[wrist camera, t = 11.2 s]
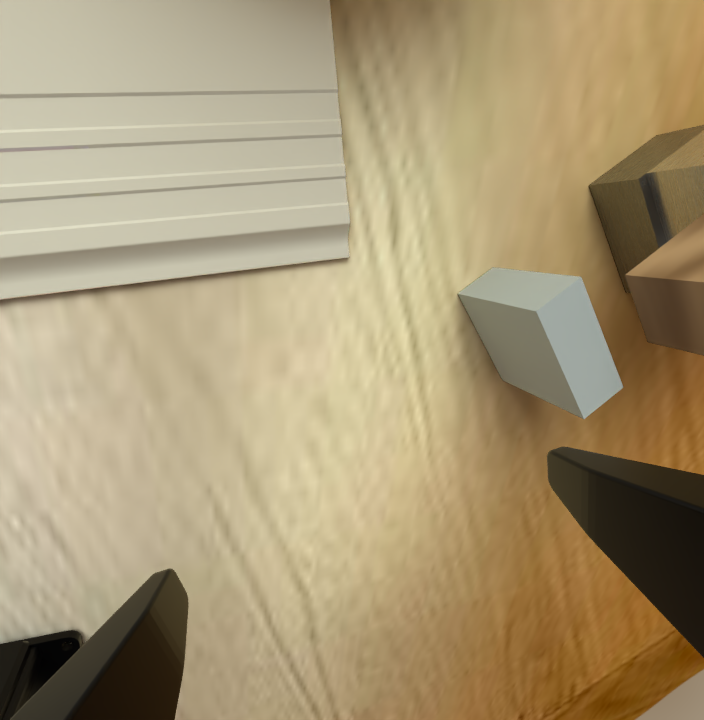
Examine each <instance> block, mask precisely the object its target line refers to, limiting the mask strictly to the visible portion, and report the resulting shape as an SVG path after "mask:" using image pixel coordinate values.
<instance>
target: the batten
mask: <svg viewBox="0 0 704 720" xmlns="http://www.w3.org/2000/svg"><path fill="white" fill-rule="evenodd" d="M625 277H626V280H627V283H628V285H629V288H630V291H631V294H632V297H633V300H634V303H635V306H636V309H637V312H638V315H639V318H640V321H641V324H642V327H643V330H644V332H645V335H646V338H647V341H648V342H650V343H654V344H658V345H662V346H666V347H671V348H675V349H679V350H683V351H687V352H692V353H696V354H700V355H704V214H703V215H701V216H700V217H699V218H698V219H696V220H695V221H694V222H692V223H691V224H690V225H689V226H687V227H686V228H685V229H683V230H682V231H681V232H680V233H678V234H677V235H676V236H674V237H673V238H672V239H671V240H669V241H668V242H667V243H665V244H664V245H663V246H662V247H660V248H659V249H658V250H656V251H655V252H654V253H653V254H651V255H650V256H649V257H647V258H646V259H645V260H644V261H642V262H641V263H640V264H638V265H637V266H636V267H635V268H633V269H632V270H631V271H629V272H628V273H627V274H626V275H625Z"/></svg>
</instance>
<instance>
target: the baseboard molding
mask: <svg viewBox="0 0 704 720" xmlns="http://www.w3.org/2000/svg"><path fill="white" fill-rule="evenodd" d="M349 226H350V214H349V204H348V199H347V189H346V171H345V164H344V156H343V145H342V127H341V120H340V113H339V102H338V84H337V73H336V62H335V51H334V40H333V29H332V18H331V8H330V0H0V300H2V299H10V298H19V297H27V296H35V295H43V294H52V293H60V292H68V291H76V290H85V289H93V288H101V287H110V286H118V285H126V284H134V283H143V282H151V281H159V280H167V279H176V278H184V277H192V276H200V275H209V274H217V273H225V272H234V271H242V270H250V269H258V268H267V267H275V266H283V265H291V264H300V263H308V262H316V261H325V260H333V259H341V258H349V246H348V232H349Z"/></svg>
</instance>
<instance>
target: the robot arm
mask: <svg viewBox="0 0 704 720" xmlns="http://www.w3.org/2000/svg"><path fill="white" fill-rule="evenodd" d="M547 465H548V480H549V483H550V486H551V488H552V489H553V491H554V492H555V493H556V495H557V496H558V497H559V499H560V500H561V501H562V502H563V504H564V505H565V506H566V508H567V509H568V510H569V512H570V513H571V514H572V516H573V517H574V518H575V520H576V521H577V522H578V524H579V525H580V526H581V527H582V529H583V530H584V531H585V532H586V534H587V535H588V536H589V537H590V538H591V539H592V540H593V542H594V543H595V544H596V545H597V546H598V547H599V548H600V549H601V550H602V551H603V552H604V553H605V554H606V555H607V556H608V557H609V558H610V560H611V561H612V562H613V563H614V564H615V565H616V566H617V567H618V568H619V569H620V570H621V571H622V572H623V573H624V574H625V575H626V576H627V577H628V579H629V580H630V581H631V582H632V583H633V584H634V585H635V586H636V587H637V588H638V589H639V590H640V591H641V592H642V593H643V594H644V595H645V596H646V597H647V599H648V600H649V601H650V602H651V603H652V604H653V605H654V606H655V607H656V608H657V609H658V610H659V611H660V612H661V613H662V614H663V615H664V616H665V618H666V619H667V620H668V621H669V622H670V623H671V624H672V625H673V626H674V627H675V628H676V629H677V630H678V631H679V632H680V633H681V634H682V635H683V636H684V638H685V639H686V640H687V641H688V642H689V643H690V644H691V645H692V646H693V647H694V648H695V649H696V650H697V651H698V652H699V653H700V654H701V655H702V657H703V658H704V475H701V474H696V473H691V472H686V471H681V470H676V469H671V468H666V467H661V466H657V465H652V464H647V463H642V462H637V461H632V460H627V459H622V458H617V457H613V456H608V455H603V454H598V453H593V452H588V451H583V450H578V449H573V448H569V447H560V448H557V449H554V450H551V451H549V452H548V455H547ZM187 619H188V596H187V593H186V591H185V589H184V587H183V585H182V583H181V582H180V580H179V578H178V576H177V574H176V572H175V571H174V570H173V569H166V570H163V571H160V572H157V573H154V574H153V575H152V576H151V577H150V578H149V579H148V580H147V581H146V582H145V583H144V584H143V585H142V586H141V587H140V588H139V589H138V590H137V591H136V592H135V593H134V594H133V595H132V596H131V597H130V598H129V599H128V600H127V601H126V602H125V603H124V604H123V605H122V606H121V607H120V608H119V609H118V610H117V611H116V612H115V613H114V614H113V615H112V616H111V617H110V618H109V619H108V620H107V621H106V622H105V623H104V624H103V625H102V627H101V628H100V629H99V630H98V631H97V632H96V633H95V634H94V635H93V636H92V637H91V638H90V639H89V640H88V641H87V642H86V643H85V644H84V645H83V643H82V637H81V634H80V633H79V632H77V631H73V630H71V631H64V632H59V633H54V634H49V635H44V636H39V637H34V638H29V639H24V640H19V641H14V642H9V643H4V644H0V720H175V714H176V709H177V703H178V698H179V693H180V687H181V682H182V676H183V670H184V660H185V647H186V633H187ZM65 642H72V643H71V644H67V643H65Z"/></svg>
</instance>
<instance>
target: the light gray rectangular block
mask: <svg viewBox="0 0 704 720" xmlns="http://www.w3.org/2000/svg"><path fill="white" fill-rule="evenodd" d="M458 295H459V297H460V299H461V301H462V303H463V305H464V307H465V309H466V311H467V313H468V315H469V317H470V319H471V321H472V322H473V324H474V326H475V328H476V330H477V332H478V334H479V336H480V338H481V340H482V342H483V344H484V346H485V348H486V349H487V351H488V353H489V355H490V357H491V359H492V361H493V363H494V365H495V367H496V369H497V371H498V373H499V375H500V377H501V378H502V380H503V381H505V382H507V383H510V384H512V385H514V386H516V387H518V388H520V389H522V390H524V391H526V392H528V393H530V394H533V395H535V396H537V397H539V398H541V399H543V400H545V401H547V402H549V403H551V404H553V405H556V406H558V407H560V408H562V409H564V410H566V411H568V412H570V413H572V414H574V415H576V416H579V417H581V418H583V419H585V418H586V417H587V416H589V415H590V414H591V413H592V412H594V411H595V410H596V409H597V408H599V407H600V406H601V405H602V404H603V403H605V402H606V401H607V400H608V399H610V398H611V397H612V396H613V395H615V394H616V393H617V392H618V391H619V390H621V389H622V388H623V385H622V382H621V380H620V377H619V374H618V372H617V369H616V367H615V364H614V361H613V359H612V356H611V354H610V351H609V348H608V346H607V343H606V341H605V338H604V335H603V333H602V330H601V327H600V325H599V322H598V320H597V317H596V314H595V312H594V309H593V307H592V304H591V301H590V299H589V296H588V294H587V291H586V288H585V286H584V283H583V281H582V278H581V277H577V276H568V275H559V274H549V273H540V272H531V271H522V270H513V269H504V268H494V267H493V268H491V269H490V270H489V271H487V272H486V273H485V274H483V275H482V276H481V277H479V278H478V279H477V280H475V281H474V282H473V283H471V284H470V285H469V286H467V287H466V288H464V289H463V290H462V291H460V292H459V293H458Z"/></svg>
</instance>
